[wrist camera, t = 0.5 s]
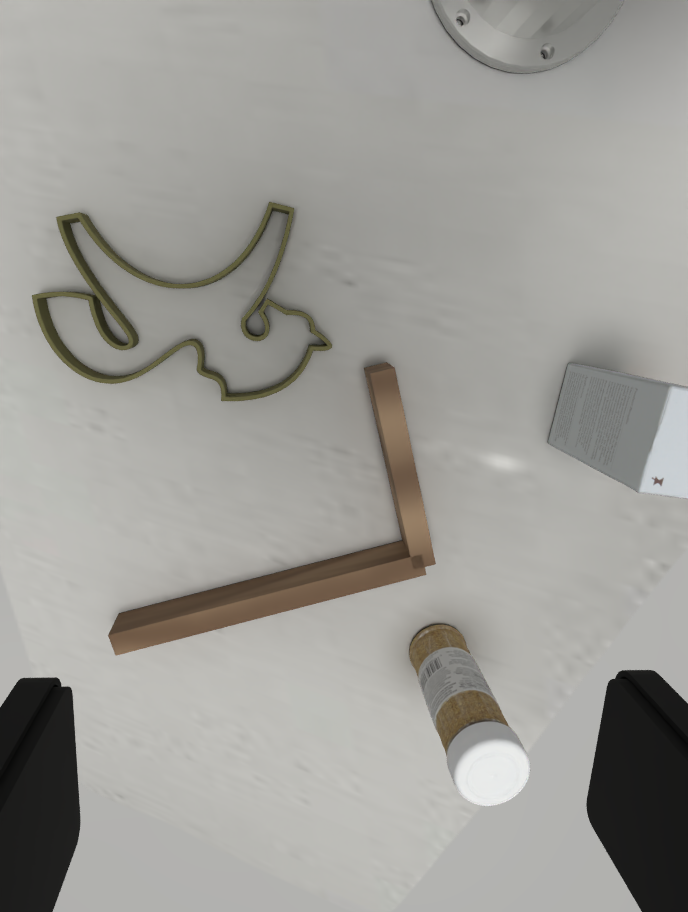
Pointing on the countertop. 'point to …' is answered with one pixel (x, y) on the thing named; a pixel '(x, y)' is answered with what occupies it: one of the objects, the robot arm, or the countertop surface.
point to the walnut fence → (311, 579)
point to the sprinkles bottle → (468, 719)
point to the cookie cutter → (102, 296)
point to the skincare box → (625, 428)
